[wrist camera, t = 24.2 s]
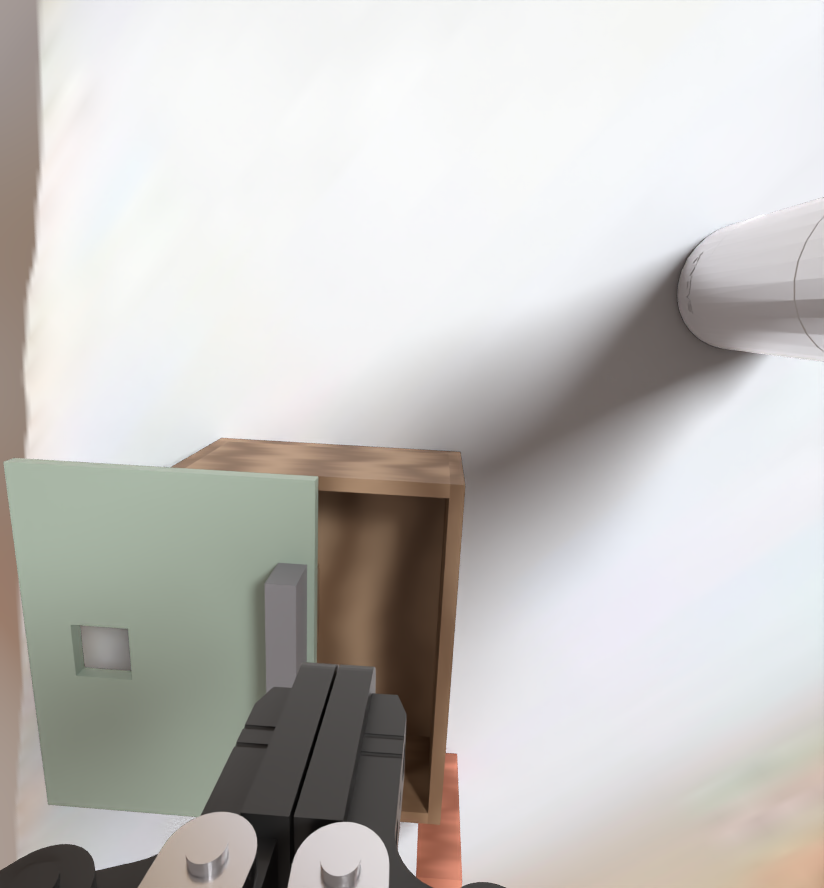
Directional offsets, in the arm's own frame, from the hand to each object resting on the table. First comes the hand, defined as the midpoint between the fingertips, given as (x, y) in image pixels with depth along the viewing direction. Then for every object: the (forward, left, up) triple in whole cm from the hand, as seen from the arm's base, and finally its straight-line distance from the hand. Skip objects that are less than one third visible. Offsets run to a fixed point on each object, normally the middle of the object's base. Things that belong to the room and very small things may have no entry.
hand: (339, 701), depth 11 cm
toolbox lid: (+16, +17, -25) cm, 35 cm away
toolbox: (+6, +17, -34) cm, 39 cm away
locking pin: (-4, +35, -35) cm, 49 cm away
